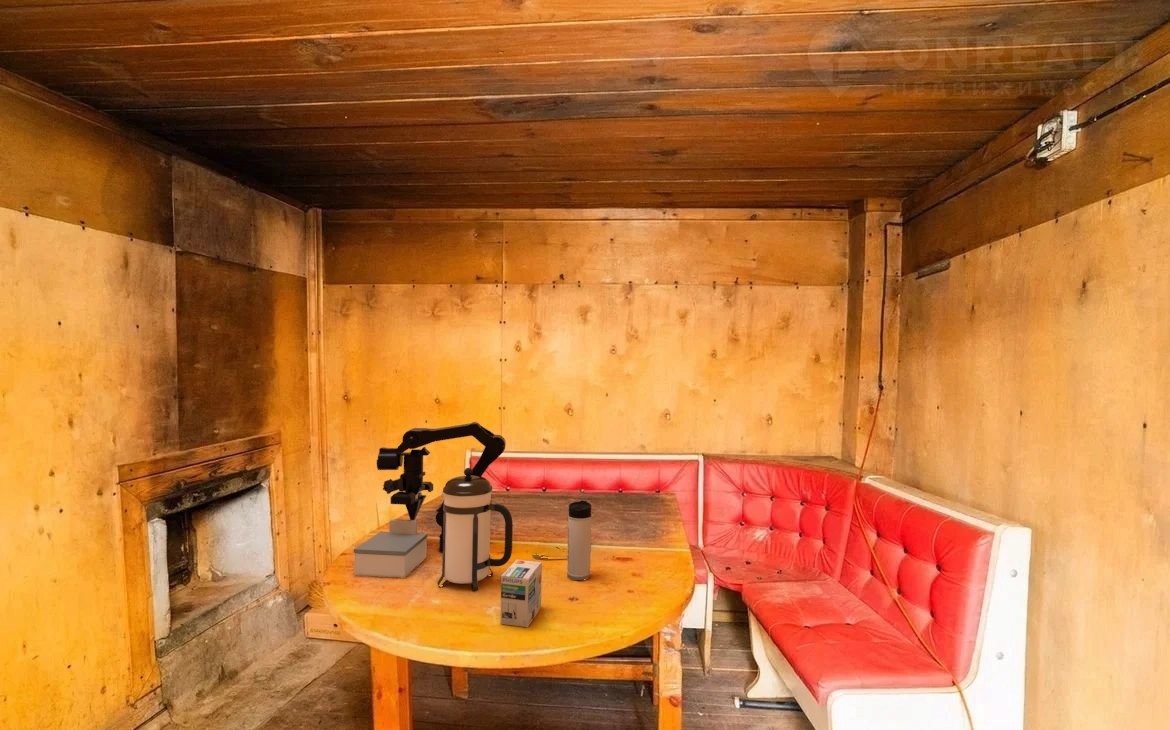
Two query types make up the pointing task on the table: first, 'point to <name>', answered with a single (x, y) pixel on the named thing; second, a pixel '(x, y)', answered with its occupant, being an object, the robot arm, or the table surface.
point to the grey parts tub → (389, 563)
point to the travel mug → (579, 540)
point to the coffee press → (470, 530)
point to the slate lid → (394, 539)
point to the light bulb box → (521, 593)
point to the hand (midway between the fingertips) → (412, 520)
